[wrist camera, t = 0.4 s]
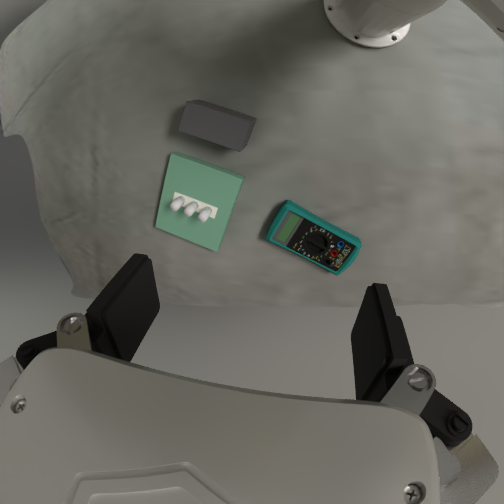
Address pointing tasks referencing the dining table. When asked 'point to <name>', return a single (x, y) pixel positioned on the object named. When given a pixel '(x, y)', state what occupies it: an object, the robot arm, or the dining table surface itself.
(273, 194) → the dining table surface
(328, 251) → the digital multimeter
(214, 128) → the block
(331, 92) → the dining table surface
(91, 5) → the dining table surface
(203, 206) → the board
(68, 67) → the dining table surface
